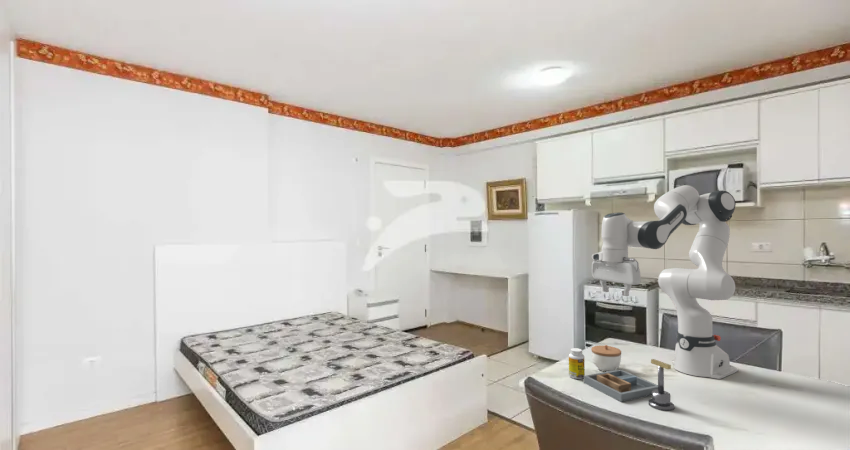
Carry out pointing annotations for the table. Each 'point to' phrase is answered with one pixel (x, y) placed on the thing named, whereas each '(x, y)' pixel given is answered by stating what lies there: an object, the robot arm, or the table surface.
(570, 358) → the supplement bottle
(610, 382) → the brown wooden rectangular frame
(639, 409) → the table surface
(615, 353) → the lidded jar
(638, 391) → the tray
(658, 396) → the plunger
